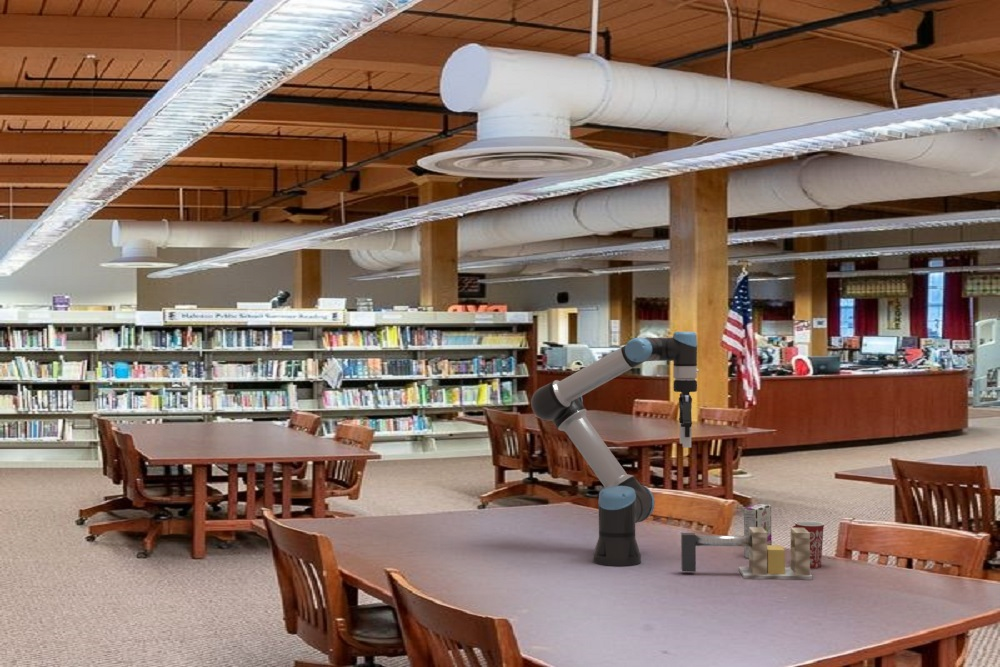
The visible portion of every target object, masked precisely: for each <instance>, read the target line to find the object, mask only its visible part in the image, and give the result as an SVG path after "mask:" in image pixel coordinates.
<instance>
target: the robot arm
mask: <svg viewBox="0 0 1000 667" xmlns="http://www.w3.org/2000/svg"><path fill="white" fill-rule="evenodd" d="M656 361H657V362H659V361H661V362H663V361H665V362H666V361H667V362H671V361H672V362H673V364H672V365H673V369H672V370H673V373H672V374H673V377H672V378H673V379H674V380H673V391H674V392H676V393H678V392H679V397H678V407H679V415H678V420H679V421H678V422H679V444H680V445H682V448H687V449H688V448H692V425H693V422H692V404H693V398H692V396H691V395H690V393H696V392H697V391H698V381H697V380H696V379H697V378H698V373H699V372H700V370H699V368H698V338H697V334H696V332H694V331H674V332H673V334H672V336H671V337H651V336H649V337H635V338H632V339H630V340H629V341H627V343H626V344H625V345H624V346H622V347H620V348H617V349H616V350H614V351H612V352H610V353H609V354H606V355H605V356H603V357H601V358H600V359H597V360H596V361H594V362H593V363H591V364H589V365H587V366H585V367H583V368H582V369H579V370H578V371H577V372H575V373H572V374H570V375H569V376H566V377H565V378H564V379H561V380H558V379H556V380H553V381H552V382H550V383H548V384H546V385H543V386H541V387H539V388H538V389H536V390H535V392H534V393H533V394H532V397H531V400H530V404H531V406H530V407H531V409H532V412H533V413H534V415H536V417H538V418H539V419H541V420H543V421H547V422H549V421H552V423H553V424H554V426H555V427H556V428H557V430H558V431H562V432H565V434H566V435H567V436H568V438H569V439H570V441H571V442H572V444H573V445H574V446H575V447H576V449H577V450H578V452H579V453H580V454H581V456H582V457H583V459H584V461H586V463H587V464H588V466H589V467H590V468H591V470H592V471H593V473H594V474H595V476H596V477H597V479H598V480H599V481H600V483H601V484H602V485H603V487H604V488H602V489H601V490H600V491H599V493H598V500H597V502H598V503H597V504H598V538H597V542H596V545H595V548H594V551H593V557H592V559H593V563H595V564H599V565H602V566H611V567H612V566H613V567H616V566H617V567H618V566H619V567H623V566H625V567H626V566H634V565H639V564H641V563H642V555H641V551H640V548H639V545H638V542H637V539H636V523H641V522H644V521H645V520H646V519H648V518H649V517H650V516H651V515H652V514H653V511H654V509H655V497H654V495H653V492H652V491H651V490H650V489H649V488H648V487H647V486H645V485H642V484H640V482H639V481H638V479H637V478H636V477H635V475H632V474H629V473H628V474H627V472H626V471H625V469H624V468H623V467H622V465H621V464H620V462H619V461H618V459H617V458H616V457H615V455H614V454H613V453H612V451H611V450H610V448H609V447H608V445H606V443H605V441H604V440H603V439H602V437H601V436H600V434H599V433H598V431H596V429H595V427H594V426H593V425H592V423H591V421H589V419H588V418H587V411H588V410H587V409H586V407H585V405H584V404H583V396H584V395H586V394H588V393H590V392H591V391H593V390H595V389H596V388H599V387H601V386H602V385H604V384H607V383H608V382H609V381H611V380H613V379H614V378H617V377H619V376H621V375H623V374H625V373H626V372H628V371H631V369H634V368H636V367H637V366H640V365H641V364H643V363H645V362H656Z"/></svg>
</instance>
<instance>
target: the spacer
mask: <svg viewBox="0 0 1000 667" xmlns="http://www.w3.org/2000/svg"><path fill="white" fill-rule="evenodd" d="M785 567H786V550H785V548H784V547H783V546H782V545H775V544H772V545H767V573H768V574H785Z"/></svg>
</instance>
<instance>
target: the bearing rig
mask: <svg viewBox="0 0 1000 667" xmlns="http://www.w3.org/2000/svg"><path fill="white" fill-rule="evenodd" d="M749 536H752V547H749V558H748V566H738V571H739V573H740V574H741V576H742V578H743V579H744V580H745V579H746V580H800V581H801V580H802V581H803V580H806V581H807V580H810V581H812V580H813V575H812V574H811V568H810V533H809V532H808V531H807V530H806V529H805V528H792V527H790V566H789V567H786V566H785V574H768V573H767V532H766V531H765V530H764V529H763V527H749Z"/></svg>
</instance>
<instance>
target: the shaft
mask: <svg viewBox="0 0 1000 667" xmlns="http://www.w3.org/2000/svg"><path fill="white" fill-rule="evenodd" d="M680 536H681V537H680V544H681V545H680V549H681V550H680V551H681V552H680V553H681V555H680V556H681V557H680V558H681V560H680V562H681V563H680V564H681V567H680V568H681V571H682V572H687V573H688V572H689V573H690V572H691V573H692V572H693V573H695V572H696V571H697V570H696V567H697V566H696V565H697V564H696V561H697V560H696V556H697V555H696V554H697V553H696V550H697V548H696V547H737V548H738V547H741V548H742V547H752V536H744V535H713V534H712V535H710V534H709V535H708V534H707V535H705V534H703V535H702V534H701V535H700V534H697V535H696V532H680Z"/></svg>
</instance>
